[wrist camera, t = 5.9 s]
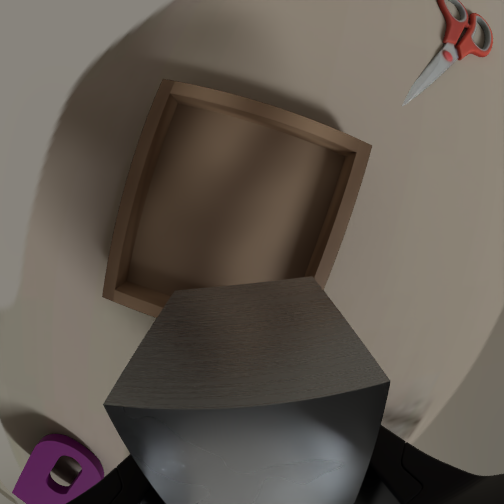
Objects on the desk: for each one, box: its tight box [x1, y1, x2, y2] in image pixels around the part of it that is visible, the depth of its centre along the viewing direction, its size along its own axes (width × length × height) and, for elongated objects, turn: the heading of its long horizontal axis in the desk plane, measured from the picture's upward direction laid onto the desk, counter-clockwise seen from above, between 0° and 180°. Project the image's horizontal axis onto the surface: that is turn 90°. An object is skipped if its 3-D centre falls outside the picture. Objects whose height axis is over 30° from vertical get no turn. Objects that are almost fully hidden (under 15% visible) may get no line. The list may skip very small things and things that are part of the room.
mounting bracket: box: [12, 434, 104, 504], centre depth 22 cm, size 10×8×18 cm
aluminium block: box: [103, 276, 390, 504], centre depth 6 cm, size 8×4×5 cm, turn 6°
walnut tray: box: [102, 79, 372, 318], centre depth 17 cm, size 13×14×3 cm
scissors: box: [402, 0, 493, 106], centre depth 15 cm, size 8×21×2 cm, turn 150°
